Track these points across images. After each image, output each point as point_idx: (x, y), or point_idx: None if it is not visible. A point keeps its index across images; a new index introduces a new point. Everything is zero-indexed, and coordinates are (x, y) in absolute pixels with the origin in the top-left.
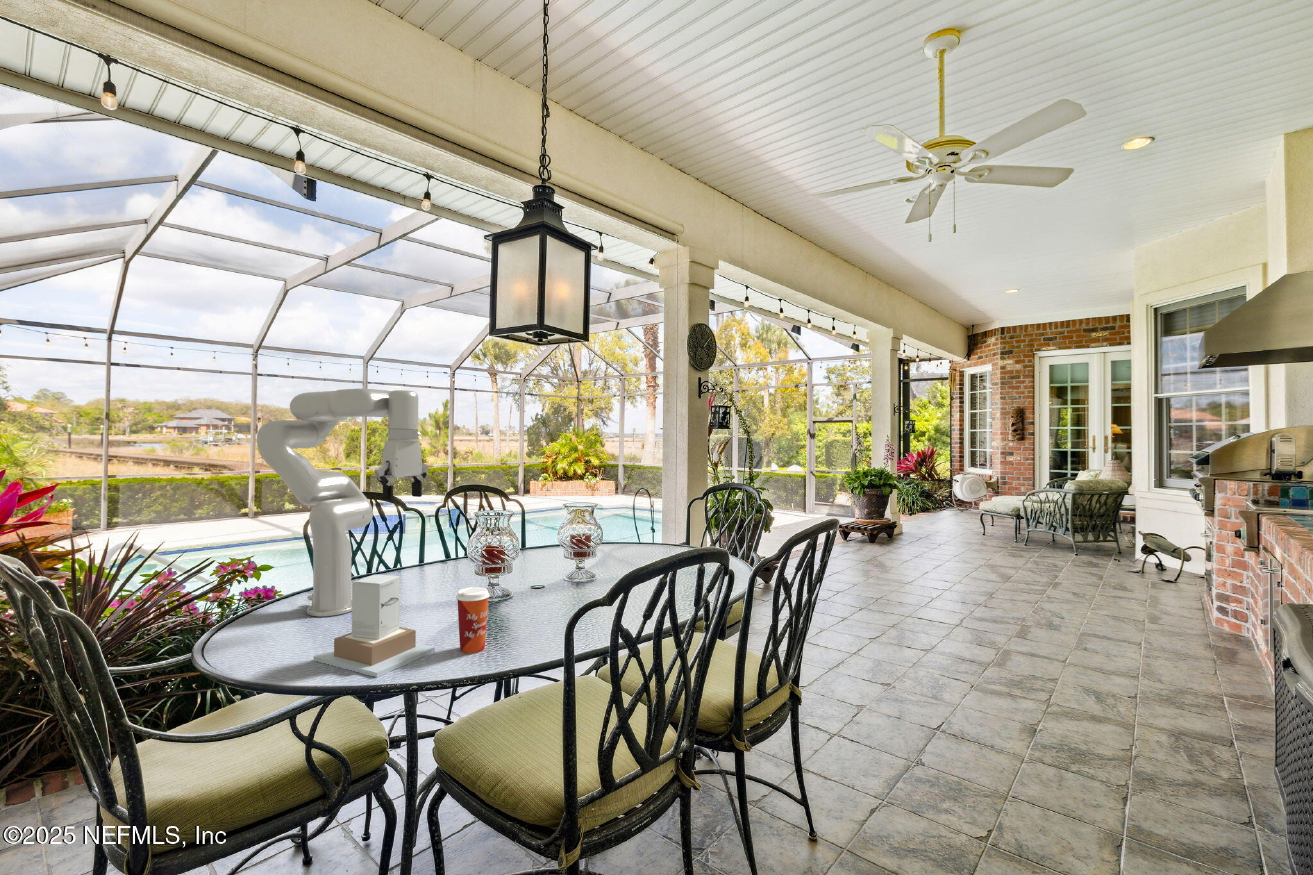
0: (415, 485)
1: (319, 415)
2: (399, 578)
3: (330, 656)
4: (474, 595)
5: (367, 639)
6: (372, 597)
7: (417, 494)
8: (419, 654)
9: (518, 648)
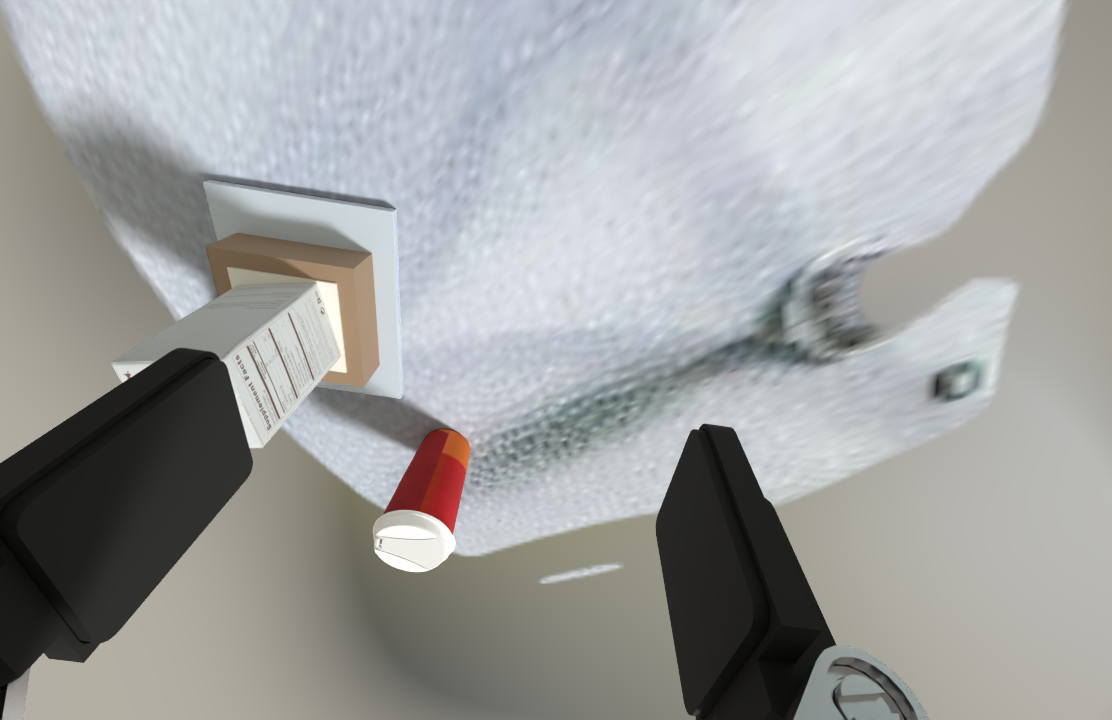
0: (709, 620)
1: None
2: (263, 444)
3: (230, 225)
4: (386, 561)
5: None
6: None
7: (667, 520)
8: (358, 391)
9: (485, 507)
